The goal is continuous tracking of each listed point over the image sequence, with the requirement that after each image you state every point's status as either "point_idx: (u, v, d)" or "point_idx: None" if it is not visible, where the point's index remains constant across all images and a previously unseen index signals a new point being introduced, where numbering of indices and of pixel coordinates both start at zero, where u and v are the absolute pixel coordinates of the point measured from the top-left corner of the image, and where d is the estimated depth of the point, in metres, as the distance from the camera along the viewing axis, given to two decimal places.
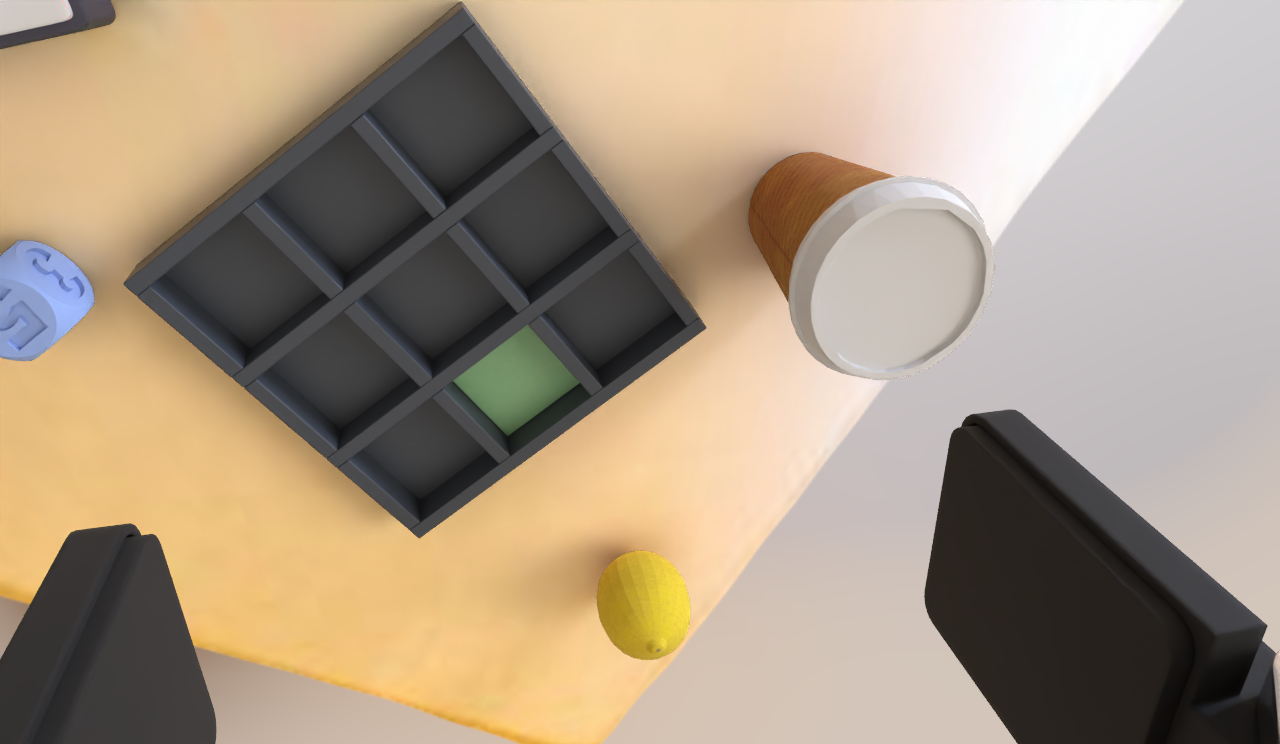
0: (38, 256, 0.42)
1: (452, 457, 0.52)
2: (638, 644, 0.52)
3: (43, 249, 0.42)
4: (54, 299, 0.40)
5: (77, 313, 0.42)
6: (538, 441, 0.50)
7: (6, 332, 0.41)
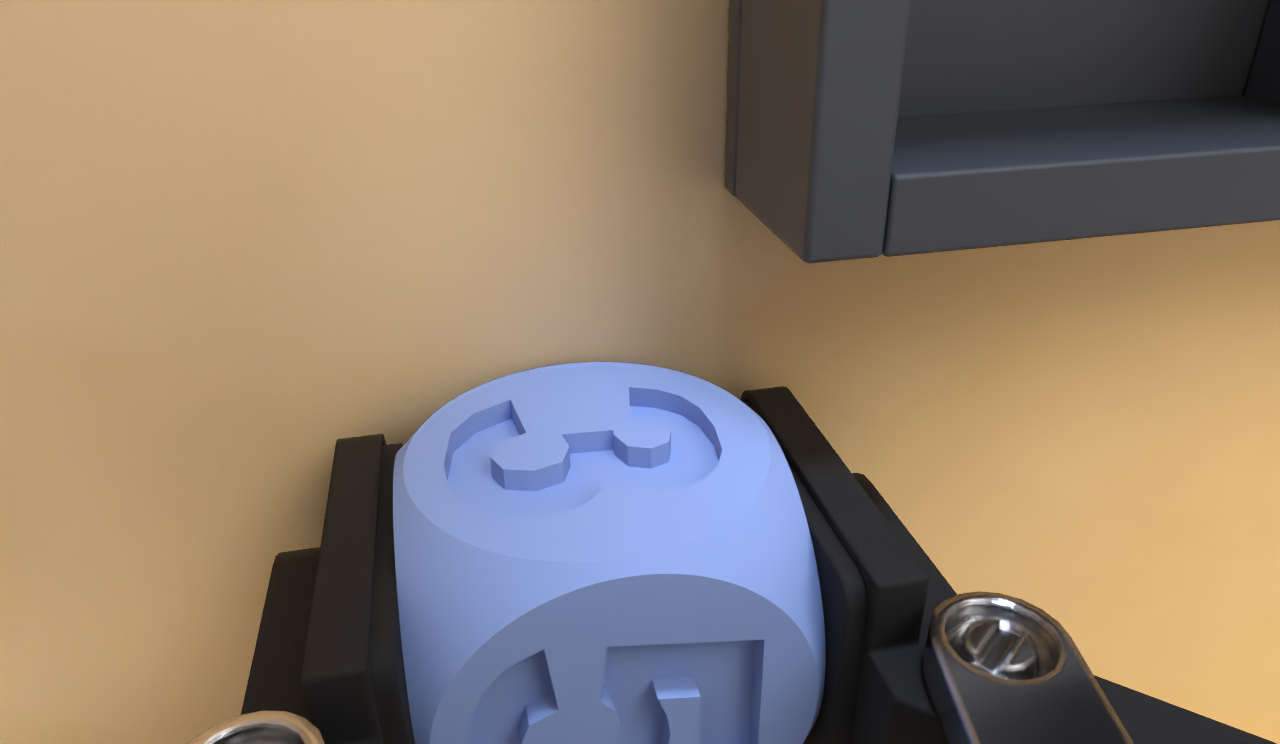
0: (489, 442, 0.10)
1: None
2: None
3: (478, 409, 0.10)
4: (689, 543, 0.08)
5: (780, 500, 0.09)
6: None
7: None
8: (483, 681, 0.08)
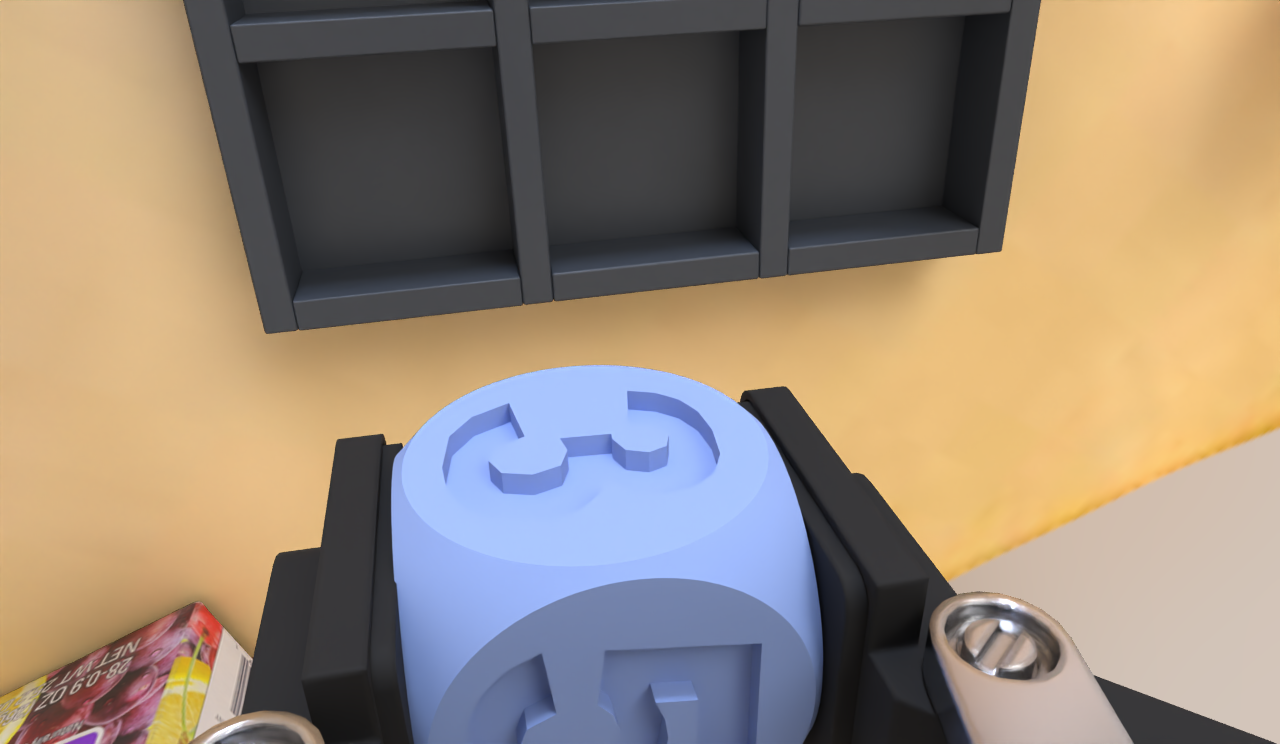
0: (488, 446, 0.10)
1: (921, 98, 0.26)
2: None
3: (477, 413, 0.10)
4: (688, 547, 0.08)
5: (778, 504, 0.09)
6: None
7: None
8: (480, 685, 0.08)
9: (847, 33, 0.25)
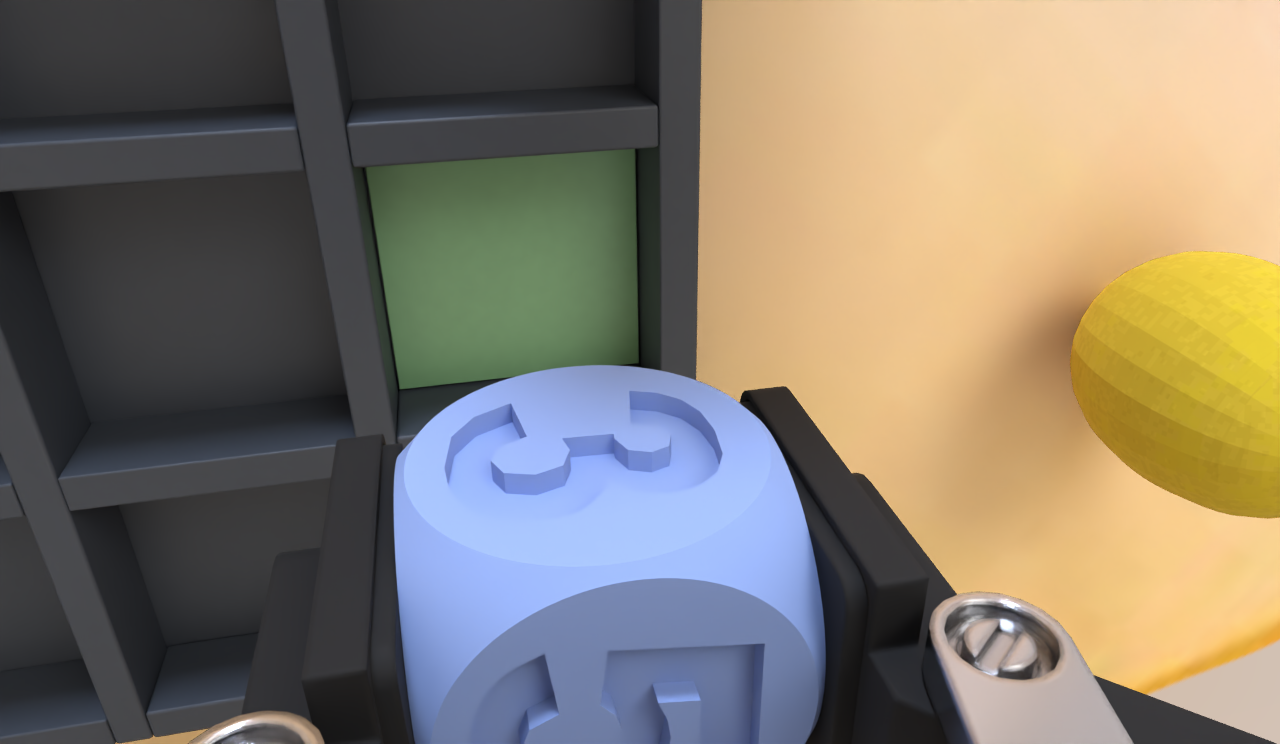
0: (490, 446, 0.10)
1: None
2: None
3: (479, 413, 0.10)
4: (690, 549, 0.08)
5: (781, 505, 0.09)
6: (673, 333, 0.19)
7: None
8: (483, 685, 0.08)
9: None
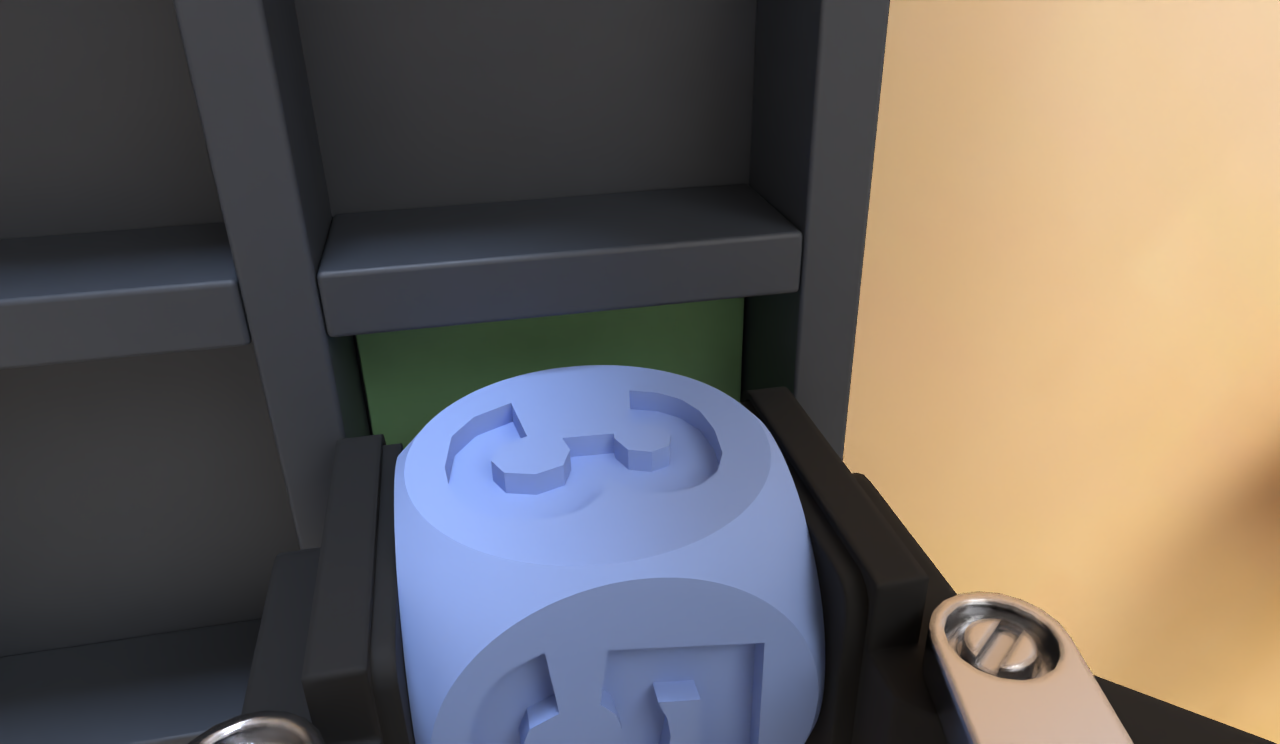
0: (490, 446, 0.10)
1: None
2: None
3: (479, 412, 0.10)
4: (690, 547, 0.08)
5: (780, 504, 0.09)
6: None
7: None
8: (483, 684, 0.08)
9: None
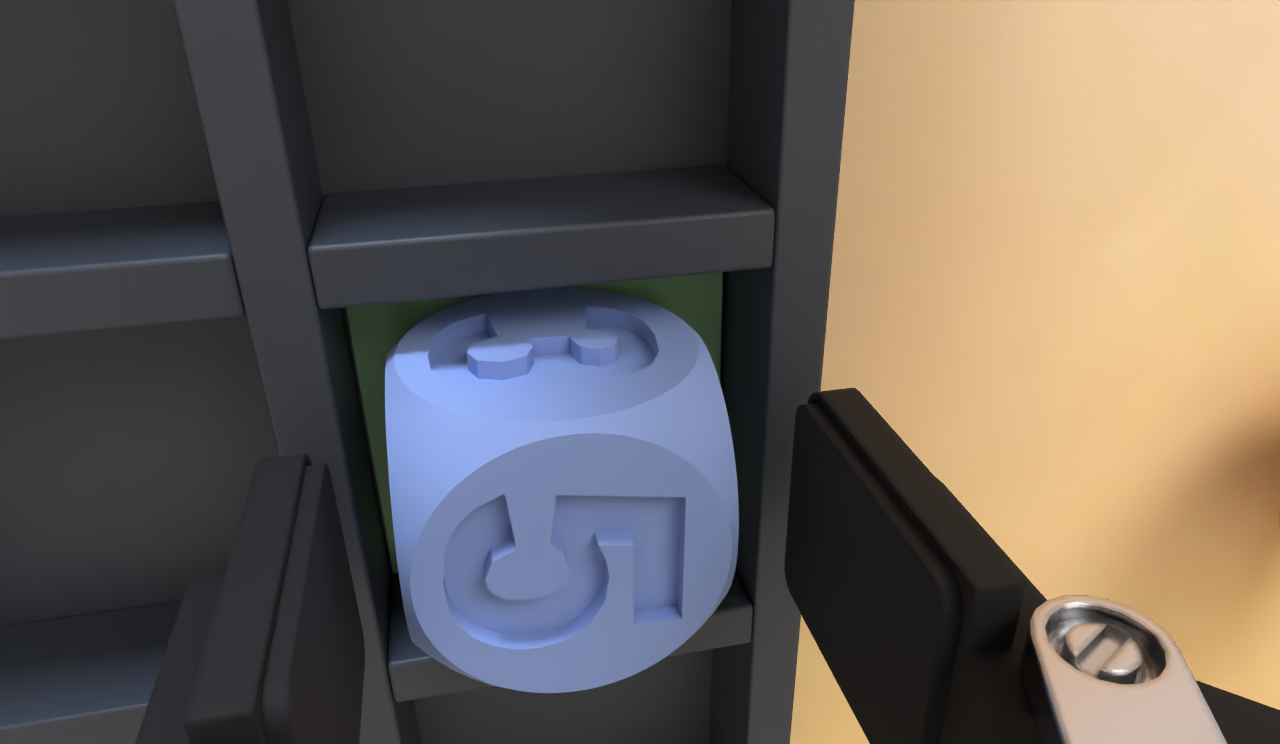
0: (467, 346, 0.12)
1: (661, 665, 0.18)
2: None
3: (458, 319, 0.12)
4: (624, 412, 0.10)
5: (704, 389, 0.11)
6: (778, 513, 0.14)
7: (610, 605, 0.11)
8: (454, 518, 0.10)
9: None
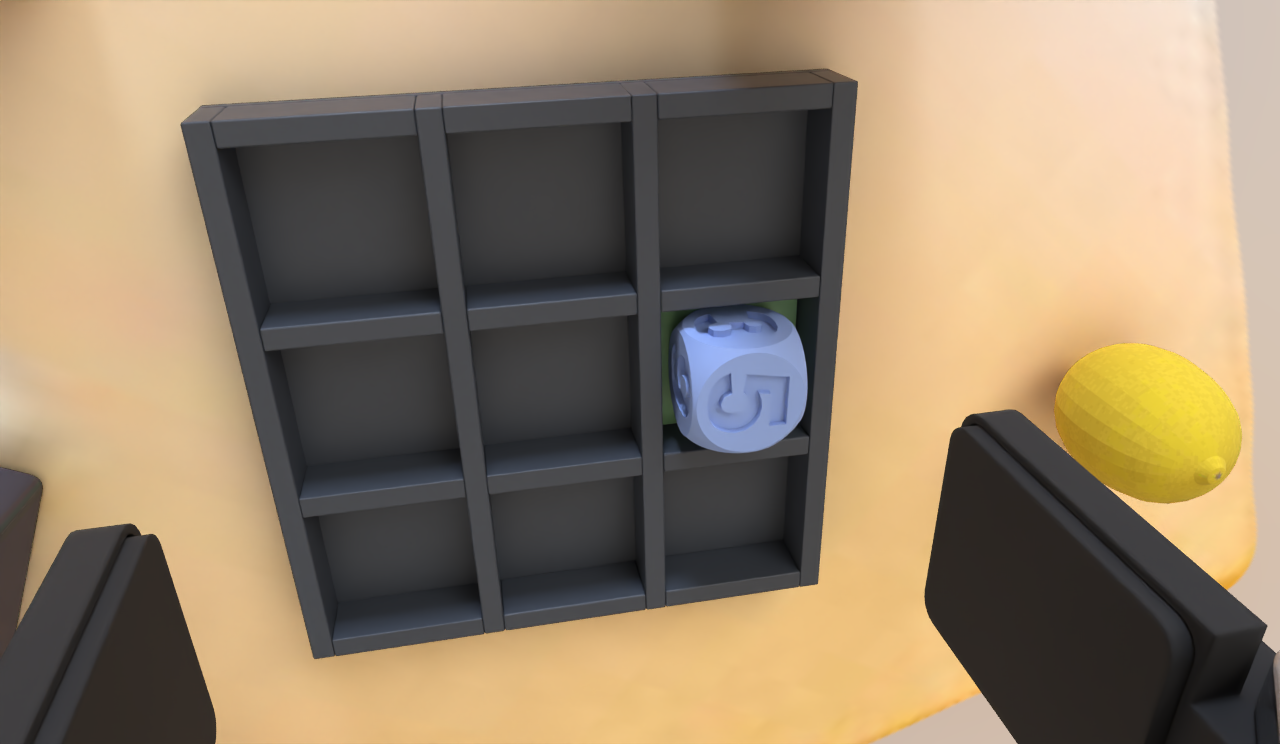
0: (704, 326, 0.32)
1: (763, 479, 0.38)
2: (1184, 488, 0.32)
3: (699, 316, 0.32)
4: (770, 346, 0.30)
5: (795, 340, 0.31)
6: (820, 395, 0.34)
7: (761, 417, 0.31)
8: (714, 381, 0.30)
9: None
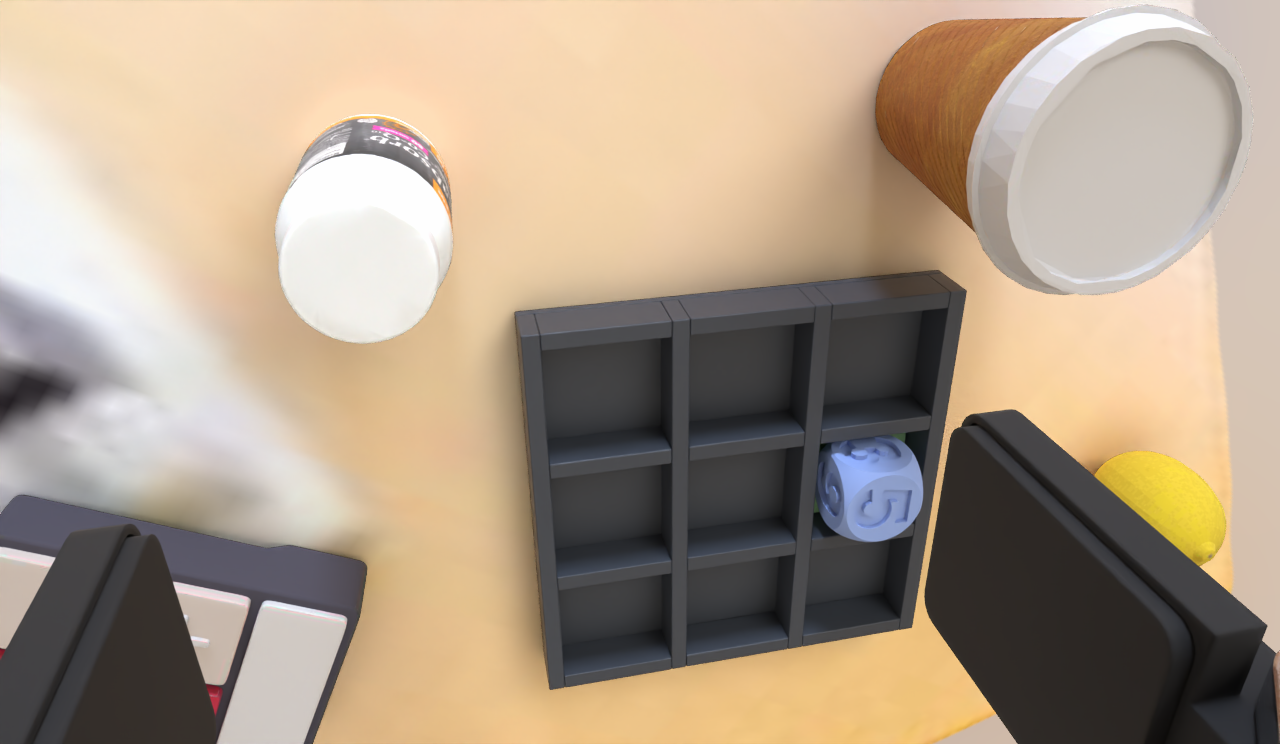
0: (845, 449, 0.45)
1: (872, 549, 0.50)
2: None
3: (841, 442, 0.45)
4: (900, 470, 0.43)
5: (914, 463, 0.44)
6: (924, 495, 0.46)
7: (890, 517, 0.44)
8: (860, 495, 0.43)
9: None
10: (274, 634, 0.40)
